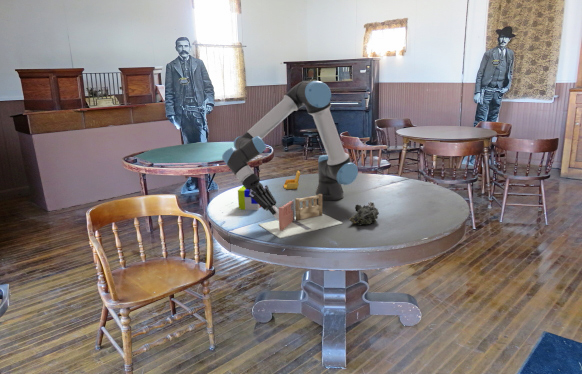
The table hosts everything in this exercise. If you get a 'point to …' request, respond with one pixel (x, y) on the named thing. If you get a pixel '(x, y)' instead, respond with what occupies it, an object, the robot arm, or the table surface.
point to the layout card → (300, 225)
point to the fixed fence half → (310, 210)
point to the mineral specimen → (365, 214)
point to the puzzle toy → (246, 200)
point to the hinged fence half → (286, 214)
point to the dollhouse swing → (292, 182)
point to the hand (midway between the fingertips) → (281, 218)
